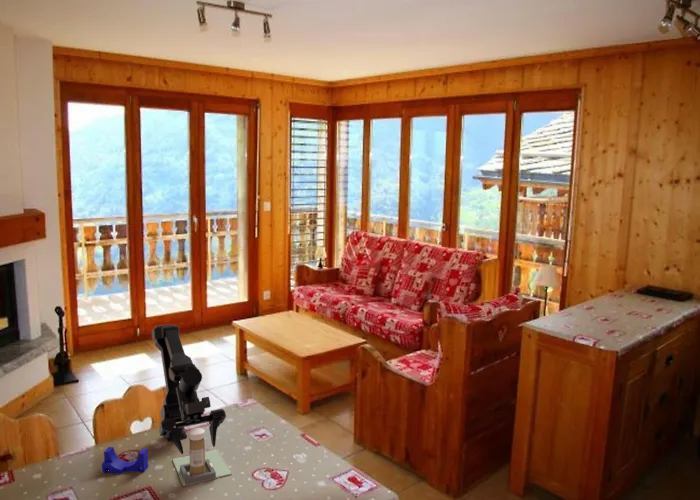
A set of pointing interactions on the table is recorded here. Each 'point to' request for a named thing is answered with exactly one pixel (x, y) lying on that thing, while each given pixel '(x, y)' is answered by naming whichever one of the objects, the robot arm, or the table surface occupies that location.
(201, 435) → the sprinkles bottle
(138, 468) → the cable clip
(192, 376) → the robot arm
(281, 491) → the table surface
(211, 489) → the table surface
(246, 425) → the table surface
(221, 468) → the board
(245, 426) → the table surface
